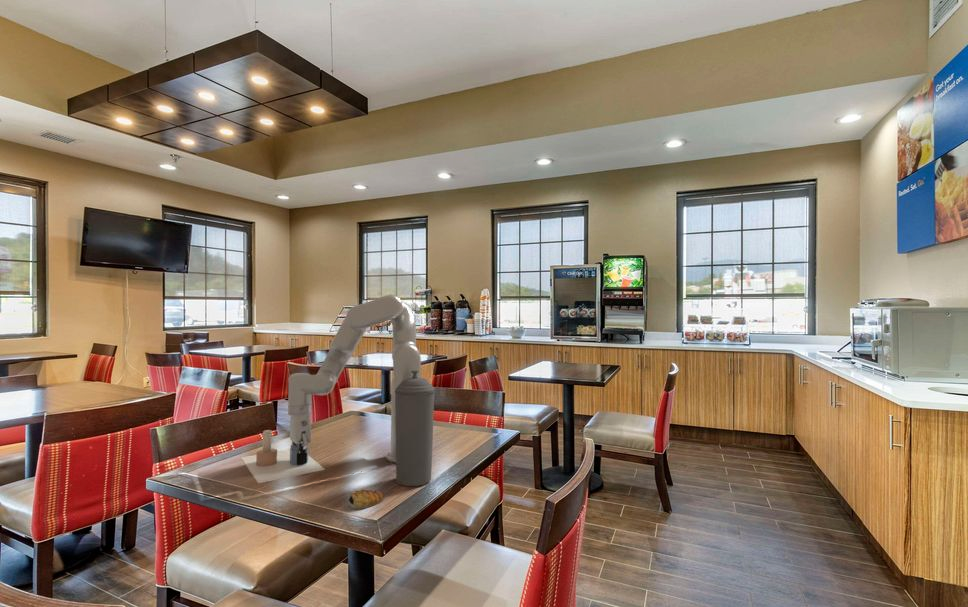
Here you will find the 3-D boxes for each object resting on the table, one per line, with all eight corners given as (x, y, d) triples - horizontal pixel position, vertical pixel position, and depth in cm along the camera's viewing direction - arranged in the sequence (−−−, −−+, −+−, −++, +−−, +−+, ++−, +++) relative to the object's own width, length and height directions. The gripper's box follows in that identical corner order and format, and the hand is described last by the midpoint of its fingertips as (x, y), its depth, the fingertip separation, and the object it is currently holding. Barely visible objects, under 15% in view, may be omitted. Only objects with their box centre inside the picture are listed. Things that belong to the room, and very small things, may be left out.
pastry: (377, 495, 129) (378, 482, 129) (387, 504, 123) (387, 490, 123) (345, 503, 123) (346, 489, 123) (354, 512, 118) (354, 498, 118)
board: (325, 472, 146) (325, 469, 146) (258, 486, 134) (258, 483, 134) (299, 450, 170) (299, 447, 170) (240, 460, 158) (240, 457, 158)
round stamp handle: (279, 463, 151) (279, 431, 152) (258, 467, 148) (259, 434, 148) (274, 458, 157) (275, 427, 157) (254, 462, 153) (255, 430, 153)
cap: (309, 463, 152) (309, 445, 152) (292, 466, 149) (293, 448, 149) (304, 459, 157) (305, 442, 157) (288, 462, 153) (288, 444, 153)
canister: (440, 483, 138) (442, 371, 139) (402, 492, 131) (403, 373, 132) (423, 471, 148) (425, 366, 149) (387, 478, 142) (388, 368, 143)
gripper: (318, 412, 149) (317, 466, 148) (303, 403, 162) (303, 453, 162) (295, 415, 144) (294, 471, 144) (282, 406, 158) (281, 457, 157)
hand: (299, 461), depth 153 cm, fingers open, 5 cm apart
